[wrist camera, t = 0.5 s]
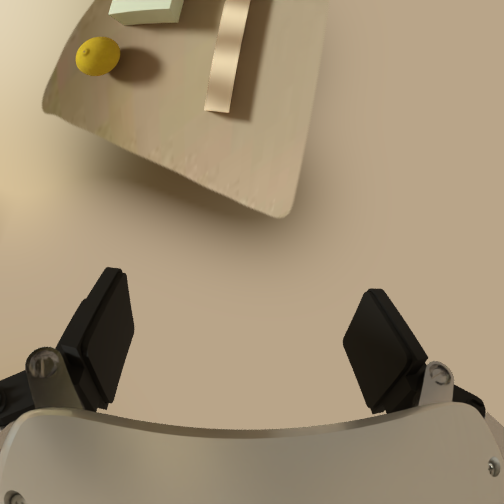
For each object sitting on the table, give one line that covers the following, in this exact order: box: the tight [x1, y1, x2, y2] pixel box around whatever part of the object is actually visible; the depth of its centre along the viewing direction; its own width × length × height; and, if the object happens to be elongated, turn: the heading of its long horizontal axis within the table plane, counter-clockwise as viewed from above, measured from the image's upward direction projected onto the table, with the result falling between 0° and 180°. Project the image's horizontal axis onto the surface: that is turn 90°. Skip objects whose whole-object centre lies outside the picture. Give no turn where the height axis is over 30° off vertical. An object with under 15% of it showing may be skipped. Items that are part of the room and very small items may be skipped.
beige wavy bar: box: [204, 0, 251, 113], centre depth 26 cm, size 20×3×3 cm, turn 171°
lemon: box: [76, 37, 120, 76], centre depth 23 cm, size 6×6×8 cm
